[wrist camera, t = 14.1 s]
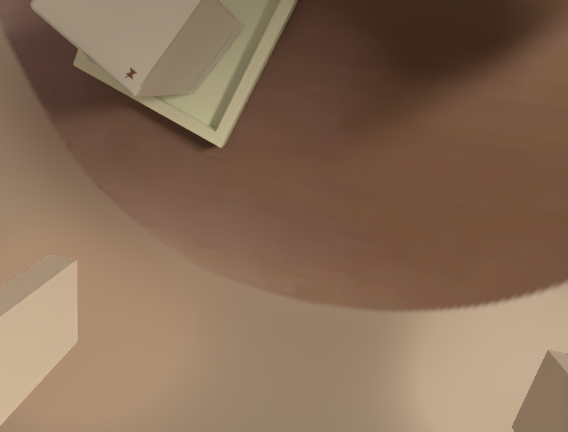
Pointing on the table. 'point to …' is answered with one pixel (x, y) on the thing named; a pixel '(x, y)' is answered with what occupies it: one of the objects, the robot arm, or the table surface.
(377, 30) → the table surface
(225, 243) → the table surface
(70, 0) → the supplement box
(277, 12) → the tray
